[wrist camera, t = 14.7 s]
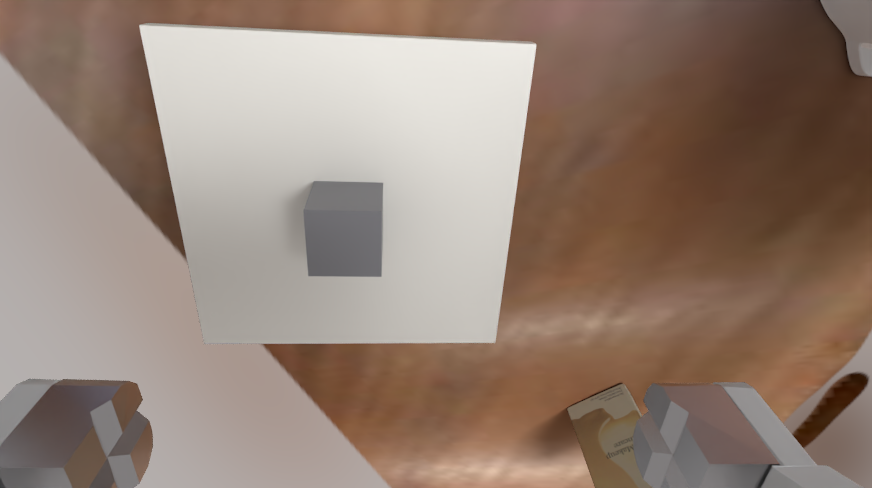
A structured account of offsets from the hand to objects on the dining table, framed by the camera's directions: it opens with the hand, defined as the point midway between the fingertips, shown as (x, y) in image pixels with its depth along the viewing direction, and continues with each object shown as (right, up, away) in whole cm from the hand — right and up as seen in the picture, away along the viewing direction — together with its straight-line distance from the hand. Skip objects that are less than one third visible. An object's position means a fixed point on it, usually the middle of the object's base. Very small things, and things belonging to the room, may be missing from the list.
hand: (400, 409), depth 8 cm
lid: (-5, +5, +24) cm, 25 cm away
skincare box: (+17, -14, +43) cm, 48 cm away
